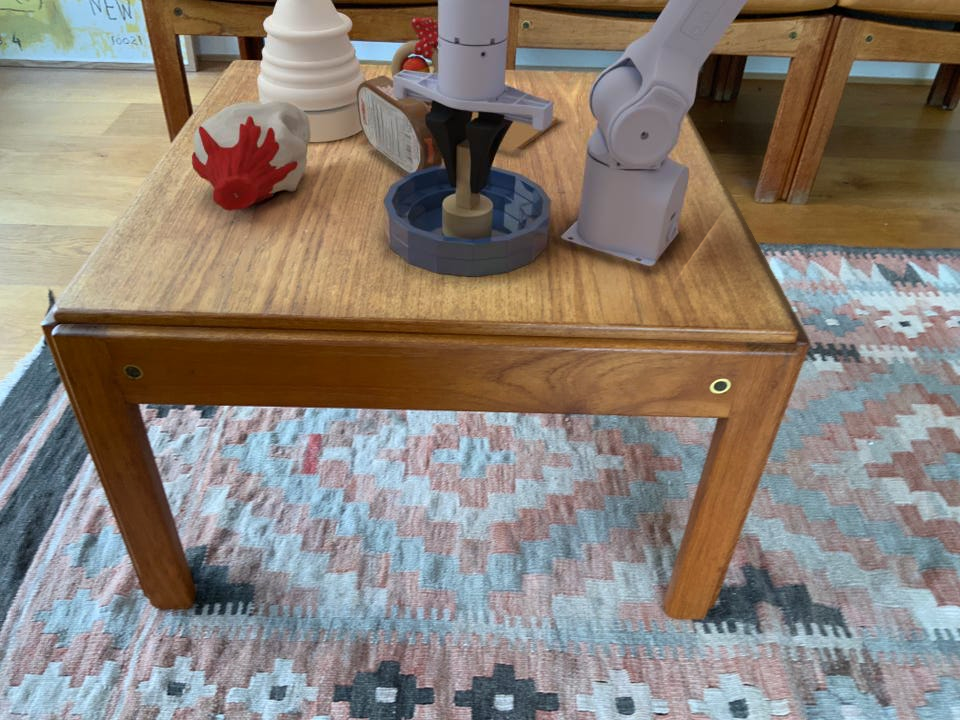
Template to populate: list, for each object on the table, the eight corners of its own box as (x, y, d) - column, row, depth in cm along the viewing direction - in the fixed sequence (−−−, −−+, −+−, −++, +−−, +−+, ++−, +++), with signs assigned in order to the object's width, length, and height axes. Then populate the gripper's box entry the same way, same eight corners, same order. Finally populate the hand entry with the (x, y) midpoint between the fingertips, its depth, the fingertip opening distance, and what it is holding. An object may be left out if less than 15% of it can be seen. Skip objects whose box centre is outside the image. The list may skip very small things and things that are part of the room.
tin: (445, 185, 85) (446, 109, 79) (420, 192, 83) (419, 115, 78) (378, 135, 94) (374, 64, 89) (354, 141, 93) (349, 69, 87)
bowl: (572, 226, 79) (577, 189, 76) (498, 300, 68) (500, 261, 66) (441, 186, 84) (441, 151, 82) (353, 249, 74) (350, 211, 71)
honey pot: (370, 140, 93) (361, -24, 81) (259, 143, 91) (234, -24, 80) (366, 100, 103) (357, -52, 91) (265, 102, 101) (244, -53, 89)
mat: (557, 122, 99) (557, 117, 99) (513, 155, 91) (513, 150, 91) (475, 101, 104) (475, 96, 103) (426, 131, 96) (426, 126, 95)
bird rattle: (408, 126, 102) (472, 101, 99) (369, 44, 95) (437, 15, 93) (412, 108, 107) (474, 84, 104) (376, 29, 100) (441, 1, 98)
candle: (315, 158, 87) (303, 241, 77) (212, 156, 86) (185, 241, 76) (307, 81, 81) (292, 161, 71) (195, 79, 80) (163, 160, 70)
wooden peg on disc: (500, 227, 77) (505, 140, 71) (476, 249, 73) (480, 159, 68) (457, 214, 78) (459, 128, 73) (433, 235, 75) (432, 147, 69)
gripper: (572, 37, 65) (556, 187, 73) (420, 9, 69) (421, 153, 78) (539, 61, 60) (526, 219, 68) (377, 29, 64) (384, 181, 73)
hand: (468, 186), depth 73 cm, fingers closed on wooden peg on disc
